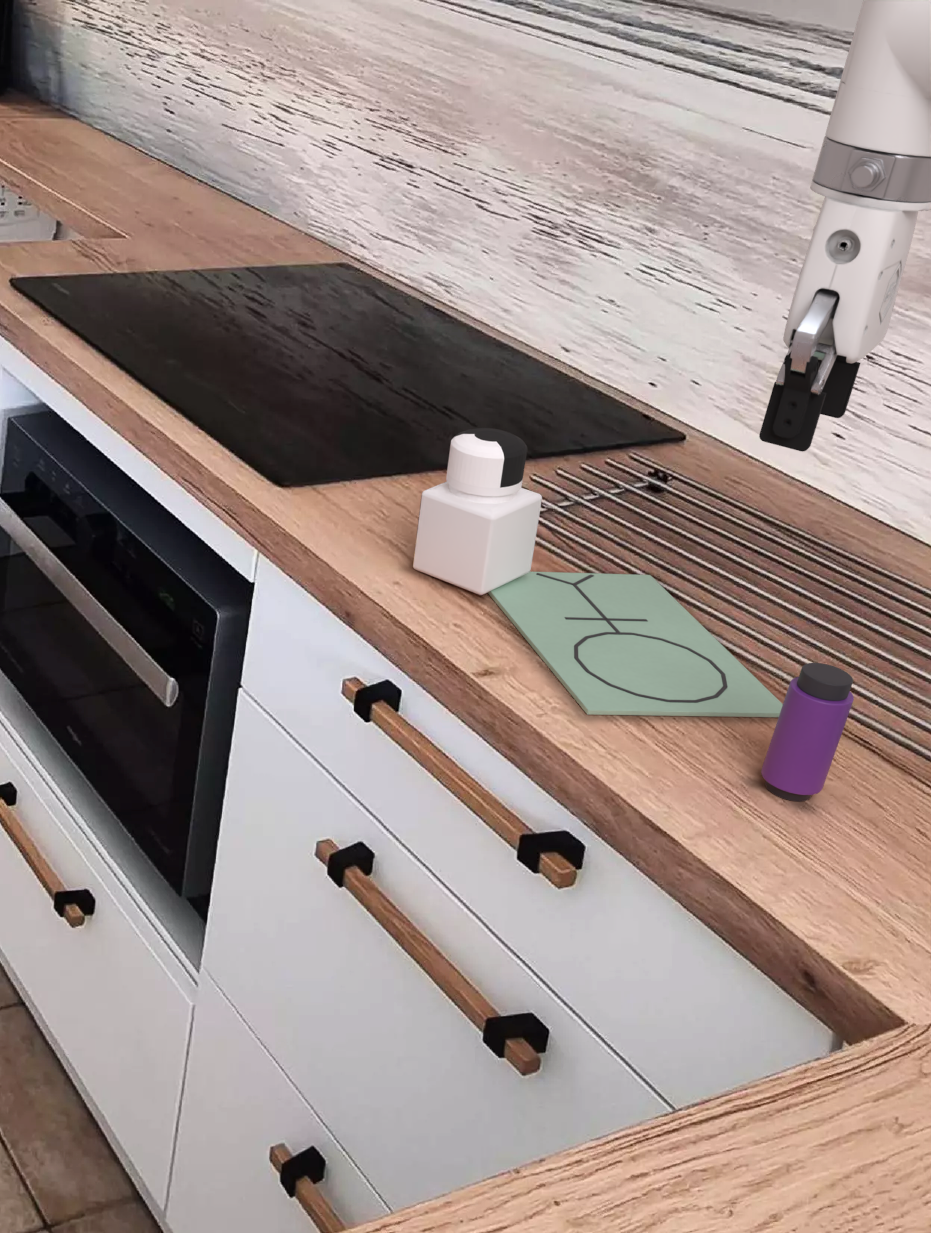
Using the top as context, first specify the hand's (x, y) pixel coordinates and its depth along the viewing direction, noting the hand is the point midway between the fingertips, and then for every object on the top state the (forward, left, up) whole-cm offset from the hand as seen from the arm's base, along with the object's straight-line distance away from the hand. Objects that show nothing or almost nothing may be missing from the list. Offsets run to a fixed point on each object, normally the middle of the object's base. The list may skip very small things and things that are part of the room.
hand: (801, 428), depth 120 cm
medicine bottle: (+21, -13, -22) cm, 33 cm away
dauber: (-5, +11, -22) cm, 25 cm away
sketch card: (+8, -7, -22) cm, 24 cm away
